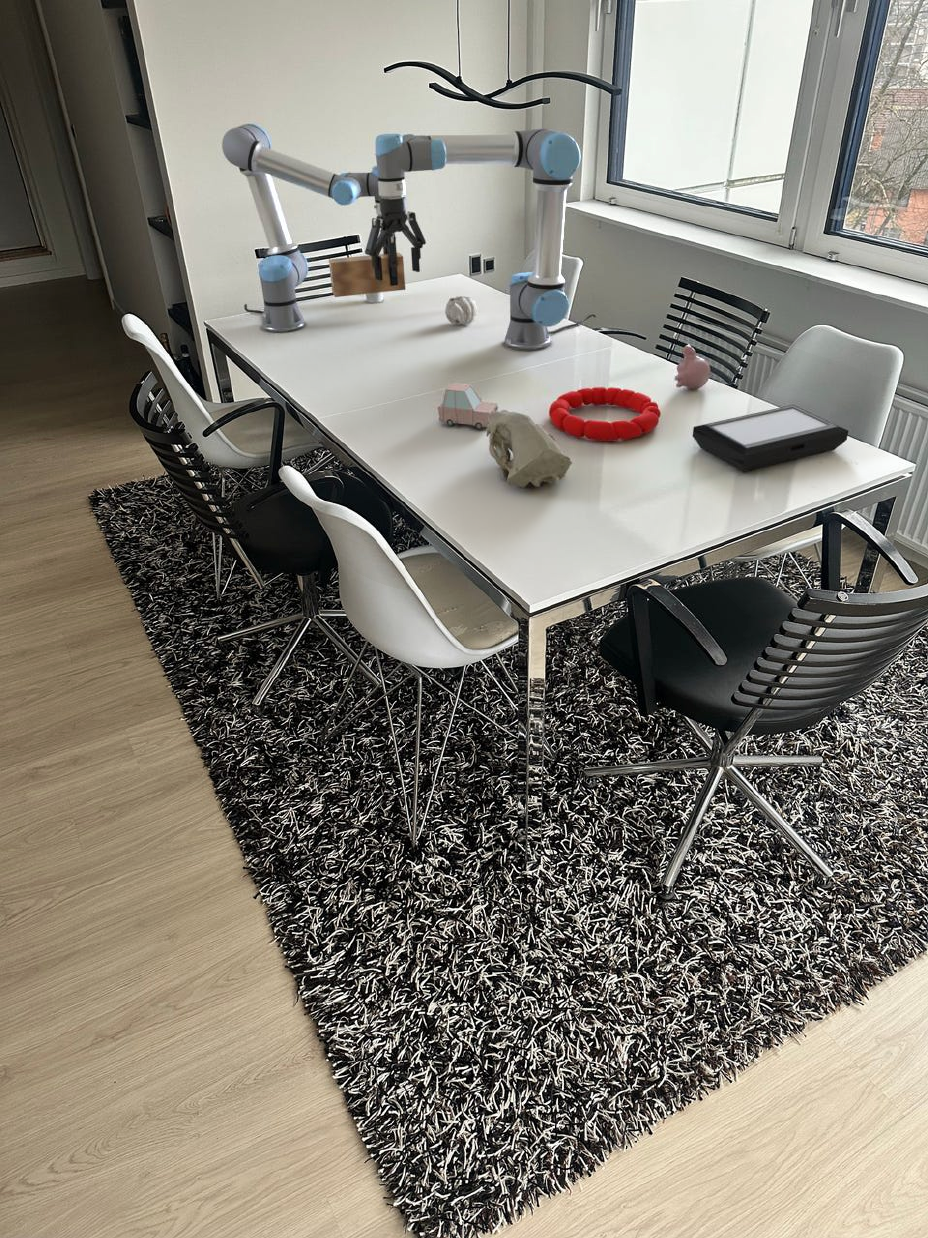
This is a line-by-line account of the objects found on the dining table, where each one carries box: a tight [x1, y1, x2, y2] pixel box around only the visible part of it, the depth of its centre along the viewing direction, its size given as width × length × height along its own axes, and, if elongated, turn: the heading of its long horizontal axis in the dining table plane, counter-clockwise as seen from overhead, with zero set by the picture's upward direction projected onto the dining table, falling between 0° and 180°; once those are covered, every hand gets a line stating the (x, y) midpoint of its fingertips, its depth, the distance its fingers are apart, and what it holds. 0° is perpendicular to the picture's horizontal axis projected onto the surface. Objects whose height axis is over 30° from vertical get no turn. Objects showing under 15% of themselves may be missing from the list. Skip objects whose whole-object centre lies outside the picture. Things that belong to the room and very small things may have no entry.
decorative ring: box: [548, 386, 661, 442], centre depth 242 cm, size 7×30×30 cm
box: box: [328, 252, 406, 298], centre depth 321 cm, size 26×6×12 cm, turn 105°
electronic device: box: [692, 404, 850, 473], centre depth 224 cm, size 32×6×20 cm
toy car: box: [437, 382, 499, 431], centre depth 243 cm, size 9×15×10 cm, turn 70°
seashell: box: [444, 295, 478, 326], centre depth 319 cm, size 10×15×10 cm
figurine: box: [674, 344, 711, 390], centre depth 259 cm, size 9×11×12 cm
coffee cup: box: [365, 292, 384, 304], centre depth 348 cm, size 10×10×15 cm
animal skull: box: [485, 409, 573, 489], centre depth 216 cm, size 17×25×20 cm
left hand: (392, 282), depth 325 cm, fingers closed on box, 6 cm apart
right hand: (397, 275), depth 262 cm, fingers open, 13 cm apart
